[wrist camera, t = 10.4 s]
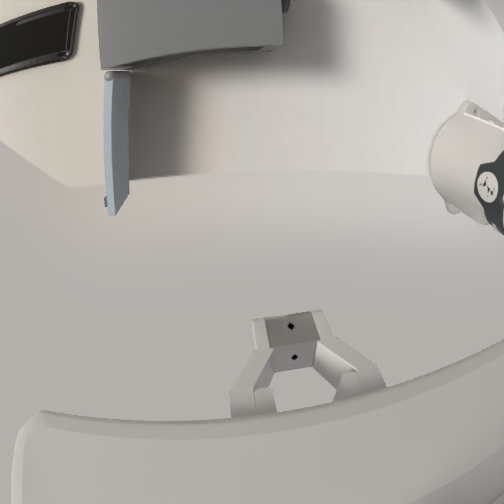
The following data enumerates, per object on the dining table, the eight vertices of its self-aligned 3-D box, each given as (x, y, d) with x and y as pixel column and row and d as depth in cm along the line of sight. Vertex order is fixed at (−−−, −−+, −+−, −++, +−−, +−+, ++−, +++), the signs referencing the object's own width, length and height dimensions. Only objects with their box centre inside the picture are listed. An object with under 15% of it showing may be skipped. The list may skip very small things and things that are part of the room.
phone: (69, 59, 22) (-18, 81, 20) (73, 59, 23) (-13, 80, 21) (77, -2, 18) (-12, 28, 16) (81, 0, 19) (-8, 28, 16)
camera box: (276, -22, 21) (291, -43, 15) (280, 51, 26) (297, 45, 21) (119, -3, 20) (97, -19, 14) (123, 69, 25) (101, 69, 19)
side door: (130, 193, 33) (116, 215, 28) (115, 193, 33) (100, 215, 28) (132, 70, 25) (114, 70, 20) (115, 71, 25) (95, 72, 20)
